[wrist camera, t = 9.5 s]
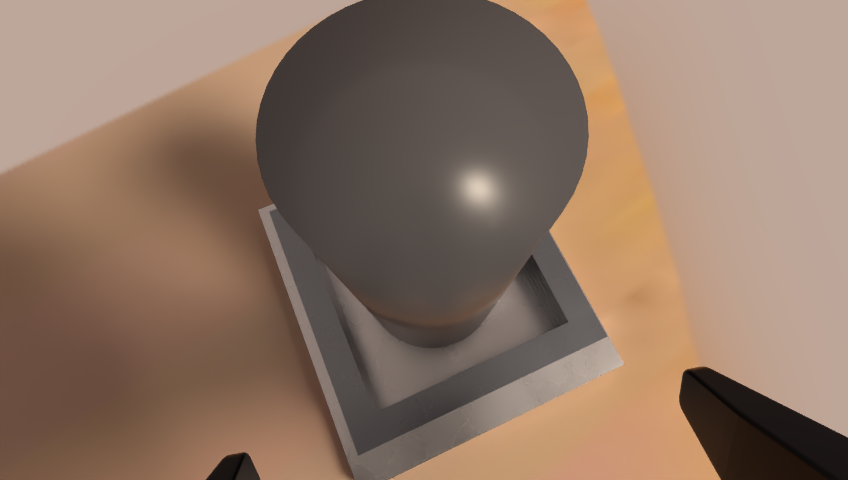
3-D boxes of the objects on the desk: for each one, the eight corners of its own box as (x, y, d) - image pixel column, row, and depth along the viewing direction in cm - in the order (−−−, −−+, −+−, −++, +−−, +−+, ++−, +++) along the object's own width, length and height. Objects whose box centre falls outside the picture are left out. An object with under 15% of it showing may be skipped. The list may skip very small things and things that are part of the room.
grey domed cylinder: (497, 348, 18) (608, 280, 6) (365, 348, 18) (235, 282, 6) (491, 222, 19) (571, -14, 8) (370, 223, 19) (273, -7, 8)
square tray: (614, 365, 18) (647, 361, 16) (363, 487, 17) (349, 508, 14) (483, 129, 22) (490, 90, 19) (266, 218, 21) (239, 191, 18)
